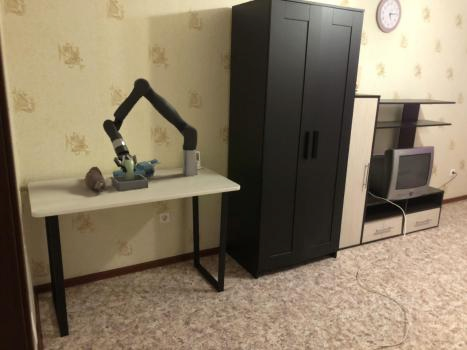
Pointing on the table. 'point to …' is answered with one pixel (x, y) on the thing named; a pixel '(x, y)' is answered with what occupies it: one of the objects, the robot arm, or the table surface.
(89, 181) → the cassava root
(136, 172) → the toy
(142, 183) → the bin
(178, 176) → the table surface
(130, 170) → the pale green rounded knob
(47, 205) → the table surface
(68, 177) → the table surface
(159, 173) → the table surface
